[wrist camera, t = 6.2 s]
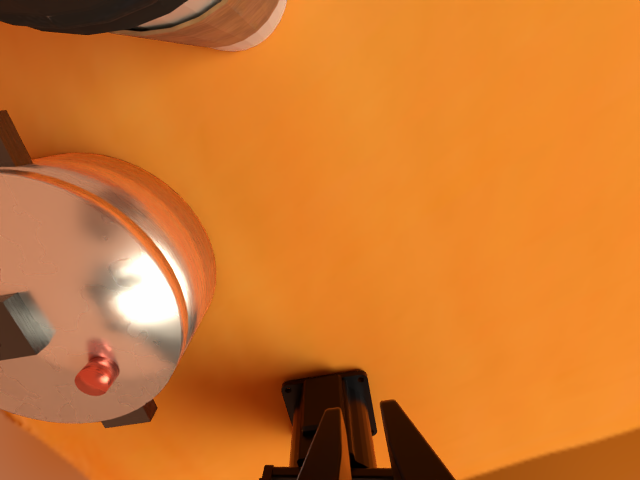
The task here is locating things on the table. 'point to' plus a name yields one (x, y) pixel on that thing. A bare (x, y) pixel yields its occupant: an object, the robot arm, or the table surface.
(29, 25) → the coffee cup
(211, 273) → the pot
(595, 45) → the table surface
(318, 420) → the robot arm
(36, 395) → the lid
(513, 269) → the table surface
